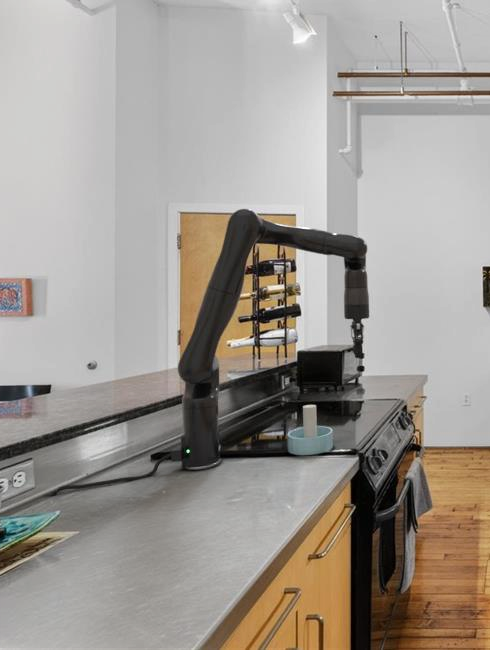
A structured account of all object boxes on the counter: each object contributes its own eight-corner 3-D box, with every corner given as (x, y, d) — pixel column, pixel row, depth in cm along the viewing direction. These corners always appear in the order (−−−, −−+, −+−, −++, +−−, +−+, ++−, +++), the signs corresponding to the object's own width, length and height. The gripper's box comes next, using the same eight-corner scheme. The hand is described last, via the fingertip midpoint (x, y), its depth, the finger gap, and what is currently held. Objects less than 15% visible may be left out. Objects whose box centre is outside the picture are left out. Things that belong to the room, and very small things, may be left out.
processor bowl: (285, 458, 138) (285, 440, 138) (290, 444, 151) (289, 427, 151) (333, 454, 141) (332, 436, 141) (333, 441, 154) (332, 424, 154)
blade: (292, 453, 141) (291, 410, 140) (295, 444, 149) (293, 404, 149) (327, 450, 143) (325, 408, 143) (327, 442, 151) (326, 402, 151)
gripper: (343, 303, 150) (344, 354, 150) (344, 303, 136) (346, 359, 136) (367, 302, 151) (368, 352, 151) (370, 303, 137) (372, 358, 138)
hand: (357, 356), depth 144 cm, fingers open, 8 cm apart
